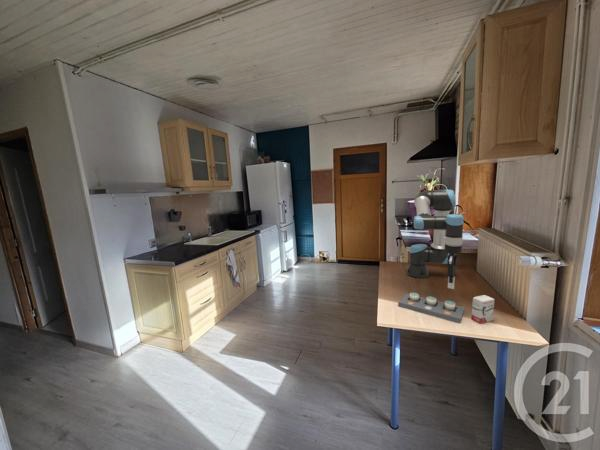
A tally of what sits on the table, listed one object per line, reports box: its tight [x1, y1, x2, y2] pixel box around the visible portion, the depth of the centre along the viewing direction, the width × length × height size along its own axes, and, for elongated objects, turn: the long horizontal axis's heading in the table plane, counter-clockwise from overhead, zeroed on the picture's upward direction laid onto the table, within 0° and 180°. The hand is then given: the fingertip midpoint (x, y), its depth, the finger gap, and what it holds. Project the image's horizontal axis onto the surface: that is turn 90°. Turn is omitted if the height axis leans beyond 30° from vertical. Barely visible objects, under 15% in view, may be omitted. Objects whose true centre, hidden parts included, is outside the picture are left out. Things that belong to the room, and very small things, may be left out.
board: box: [397, 293, 465, 324], centre depth 135 cm, size 14×30×3 cm, turn 49°
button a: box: [409, 292, 420, 302], centre depth 142 cm, size 5×5×4 cm
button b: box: [426, 295, 437, 307], centre depth 136 cm, size 5×5×4 cm
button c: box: [444, 300, 456, 312], centre depth 130 cm, size 5×5×4 cm
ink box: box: [471, 294, 495, 324], centre depth 121 cm, size 9×5×12 cm, turn 106°
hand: (450, 287), depth 128 cm, fingers closed
